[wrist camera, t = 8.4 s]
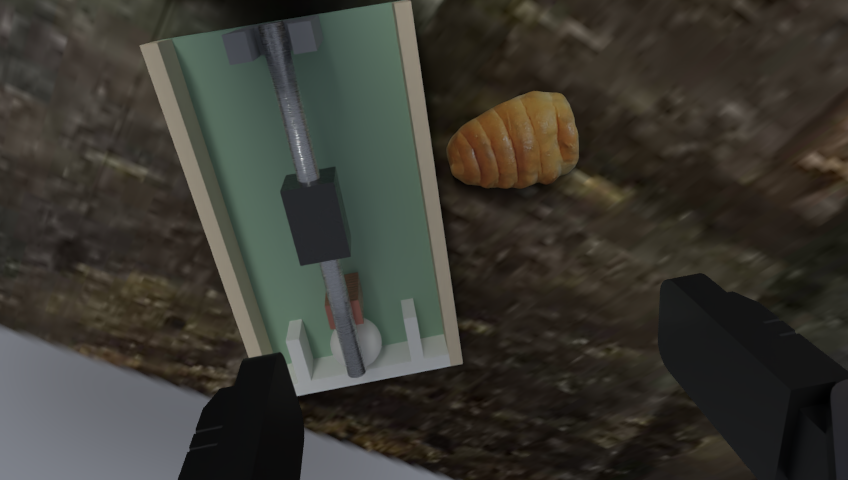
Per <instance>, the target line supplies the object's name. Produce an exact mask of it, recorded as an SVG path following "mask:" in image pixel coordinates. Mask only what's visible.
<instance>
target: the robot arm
mask: <svg viewBox="0 0 848 480" xmlns="http://www.w3.org/2000/svg"><path fill="white" fill-rule="evenodd" d="M658 346H659V351H660V355H661V358H662V360H663V363H664V365H665V366H666V368H667V369H668V371H669V372H670V373H671V374H672V376H673V377H674V378H675V379H676V381H677V382H678V383H679V384H680V385H681V387H682V388H683V389H684V390H685V391H686V393H687V394H688V395H689V396H690V398H691V399H692V400H693V401H694V402H695V404H696V405H697V406H698V407H699V408H700V410H701V411H702V412H703V413H704V415H705V416H706V417H707V418H708V419H709V421H710V422H711V423H712V424H713V425H714V427H715V428H716V429H717V430H718V432H719V433H720V434H721V435H722V436H723V438H724V439H725V440H726V441H727V442H728V444H729V445H730V446H731V447H732V449H733V450H734V451H735V452H736V453H737V455H738V456H739V457H740V458H741V459H742V461H743V462H744V463H745V464H746V466H747V467H748V468H749V469H750V470H751V472H752V473H753V474H754V475H755V476H756V478H757V479H758V480H848V371H847V370H845V369H844V368H843V367H842V366H840V365H839V364H838V363H836V362H835V361H834V360H833V359H831V358H830V357H829V356H827V355H826V354H825V353H824V352H822V351H821V350H820V349H818V348H817V347H816V346H815V345H813V344H812V343H811V342H809V341H808V340H807V339H805V338H804V337H803V336H802V335H800V334H796V333H795V330H794V329H793V328H791V327H790V326H789V325H787V324H786V323H785V322H784V321H779V318H778V317H777V316H776V315H774V314H773V313H772V312H771V311H769V310H768V309H767V308H765V307H764V306H763V305H762V304H760V303H759V302H757V301H754V300H752V299H749V298H747V297H745V296H742V295H740V294H738V293H735V292H728V293H727V292H726V291H725V290H723V289H722V288H721V287H720V286H719V285H717V284H716V283H715V282H714V281H712V280H711V279H710V278H709V277H707V276H706V275H704V274H702V273H699V274H694V275H688V276H683V277H678V278H672V279H667V280H665V281H663V283H662V285H661V288H660V306H659V328H658ZM303 446H304V423H303V417H302V412H301V408H300V405H299V402H298V398H297V395H296V392H295V389H294V386H293V383H292V379H291V376H290V373H289V370H288V367H287V363H286V360H285V358H284V356H283V354H282V353H281V352H277V353H272V354H267V355H261V356H256V357H251V358H245V359H243V361H242V363H241V366H240V369H239V372H238V376H237V379H236V382H235V386H232V387H226V388H221V389H219V390H218V392H217V393H216V394H215V395H214V396H213V398H212V399H211V400H210V401H209V402H208V404H207V405H206V406H205V407H204V408H203V410H202V413H201V416H200V419H199V422H198V424H197V427H196V434H194V435H193V438H192V441H191V444H190V447H189V448H190V451H189V452H187V455H186V458H185V461H184V463H183V466H182V469H181V472H180V475H179V477H178V480H300V474H301V464H302V455H303Z"/></svg>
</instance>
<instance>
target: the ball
mask: <svg viewBox="0 0 848 480" xmlns="http://www.w3.org/2000/svg"><path fill="white" fill-rule="evenodd" d="M356 328H357V332H358V336H359V340H360V345H361V349H362V353H363V357H364V361H365V365H366V366H368V365H370V364H371V363H373V362H374V361H375V359H376V358H377V357H378V355H379V353H380V350H381V346H382V339H381V335H380V332H379V330H378V328H377V327H376V326H375V325H374V324H373V323H372V322H371V321H369V320H367V319H365V318H364V324H359V325H356ZM330 347H331V351H332V354H333V356H334V358H335V359H336V360H337V361H338V362H339V363H340V364H341V365H343V366H345V362H344V358H343V355H342V351H341V347H340V343H339V339H338V335H337V331H336V329H334V331H333V333H332V336H331V340H330ZM345 367H346V366H345Z"/></svg>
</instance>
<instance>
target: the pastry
mask: <svg viewBox="0 0 848 480" xmlns="http://www.w3.org/2000/svg"><path fill="white" fill-rule="evenodd" d="M574 122H575V119H574V116H573V113H572V110H571V108H570V105H569V103H568V101H567V100H566V98H565V97H564V96H563V95H562V94H560V93H549V92H539V91H533V92H528V93H526V94H523V95H520V96H517V97H515V98H513V99H511V100H509V101H506V102H504V103H501V104H499V105H497V106H495V107H494V108H492V109H490V110H488V111H486V112H485V113H483V114H481V115H480V116H478V117H476V118H475V119H473V120H471V121H469V122H467V123H466V124H464V125H463V126H462V127H461V128H460V129H459V130H458V131H457V132H456V133H455V134H454V135H453V136H452V137H451V139H450V141H449V143H448V145H447V148H446V152H447V159H448V162H449V165H450V169H451V173H452V175H453V176H454V177H455V178H457V179H459V180H460V181H462V182H463V183H465V184H467V185H479V186H482V187H484V188H487V189H488V188H496V187H498V188H502V189H508V188H511V187H513V188H518V189H522V188H526V187H528V186H530V185H532V184H535V183H538V182H540V183H543V184H546V185H547V184H550V183H552V182H554V181H555V180H556V179H557V178H558V177H559V176H561V175H566V174H568V173H569V172H570V171H571V170H572V169H573V168H574V167H575V165H576V164H577V162H578V158H579V153H578V152H579V142H578V131H577V128H576V126H575V123H574Z"/></svg>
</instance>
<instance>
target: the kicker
mask: <svg viewBox="0 0 848 480" xmlns="http://www.w3.org/2000/svg"><path fill="white" fill-rule="evenodd" d="M257 26H258V30H259V34H260V37H261V41H262V45H263V49H264V53H265V57H266V61H267V64H268V68H269V72H270V76H271V80H272V84H273V88H274V92H275V95H276V99H277V103H278V107H279V111H280V115H281V119H282V123H283V126H284V130H285V134H286V138H287V142H288V146H289V150H290V153H291V157H292V161H293V165H294V169H295V174H289V175H286V176H285V179H284V182H283V185H282V187H281V190H280V194H281V197H282V201H283V205H284V208H285V212H286V216H287V219H288V223H289V226H290V230H291V234H292V237H293V241H294V245H295V248H296V252H297V256H298V259H299V263H300V266H304V265H309V264H315V263H319V266H320V269H321V273H322V277H323V281H324V285H325V289H326V295H325V310H326V314H327V318H328V322H329V325H330V329H331V330H333V329H336V331H337V335H338V339H339V343H340V347H341V351H342V355H343V358H344V362H345V366H346V370H347V374H348V376H349V377H351V378H358V377H361V376H363V375H364V374H365V373H366V365H365V361H364V357H363V353H362V349H361V345H360V340H359V336H358V332H357V328H356V325H359V324H364V312H363V292H362V288H361V283H360V279H359V274H358V272H355V273H350V274H345V275H344V273H343V269H342V265H341V261H340V259H342V258H347V257H351V233H350V229H349V224H348V220H347V215H346V211H345V206H344V202H343V198H342V193H341V189H340V184H339V180H338V175H337V171H336V166H335V167H329V168H323V169H318V165H317V160H316V156H315V152H314V148H313V144H312V140H311V135H310V131H309V127H308V123H307V119H306V114H305V110H304V106H303V102H302V98H301V93H300V89H299V85H298V81H297V77H296V73H295V68H294V64H293V60H292V56H291V52H290V47H289V43H288V39H287V35H286V31H285V27H284V22H283V21H278V22H272V23H266V24H261V25H257Z"/></svg>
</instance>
